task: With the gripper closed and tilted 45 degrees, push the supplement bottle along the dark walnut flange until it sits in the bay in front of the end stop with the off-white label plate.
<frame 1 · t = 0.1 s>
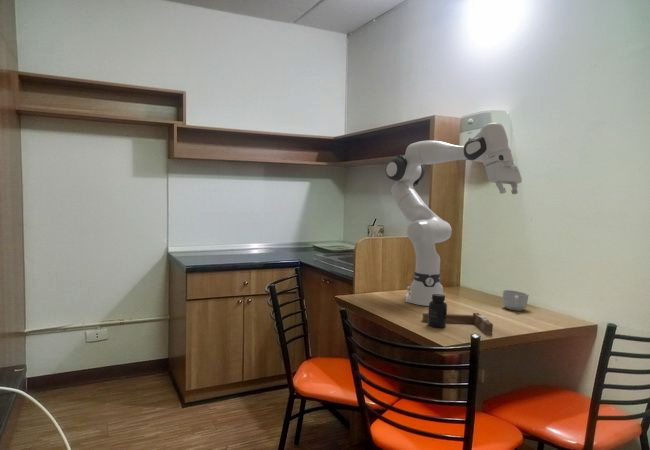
hand: (509, 193, 181), 52 cm above the table, tool tilted 20°, fingers open, 8 cm apart
rack: (454, 326, 175), on the table
supplement bottle: (436, 326, 175), on the table
teacup: (514, 310, 207), on the table
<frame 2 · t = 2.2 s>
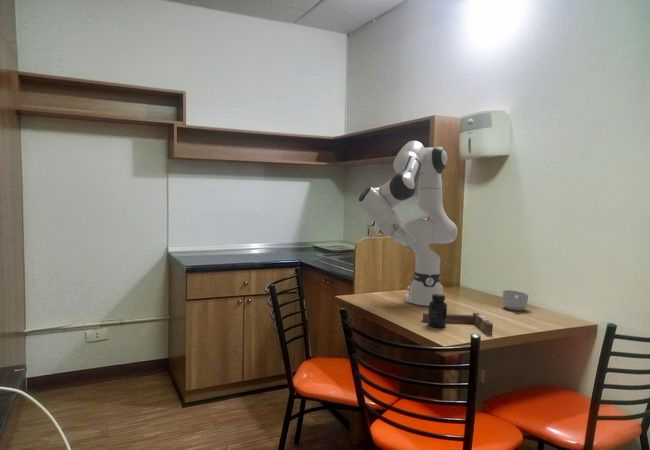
hand: (414, 251, 174), 28 cm above the table, tool tilted 45°, fingers open, 8 cm apart
nothing on the table moved.
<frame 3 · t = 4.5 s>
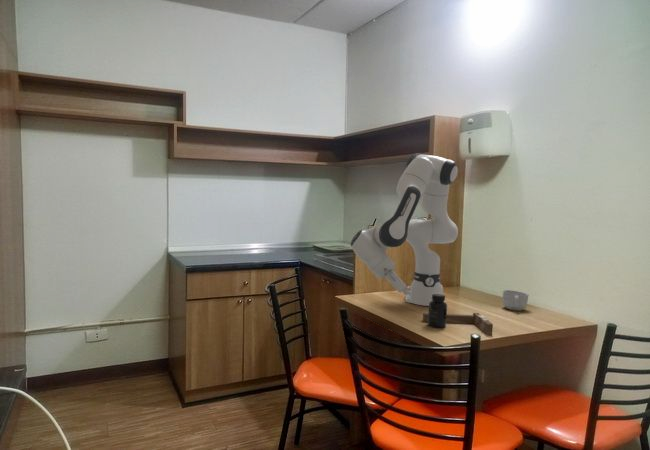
hand: (407, 293, 174), 12 cm above the table, tool tilted 45°, fingers closed
nothing on the table moved.
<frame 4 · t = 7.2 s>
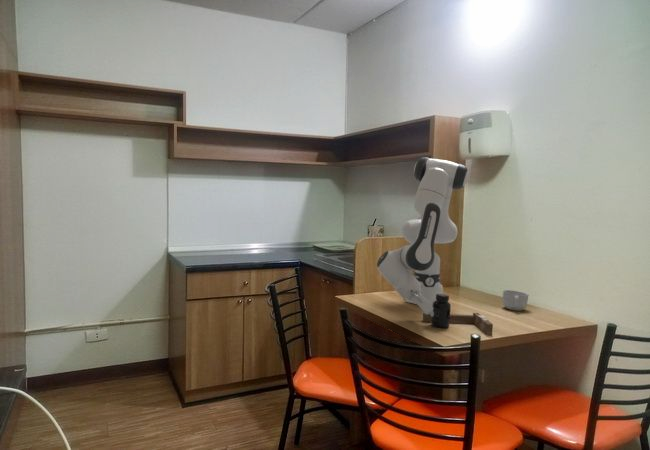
hand: (433, 314, 175), 4 cm above the table, tool tilted 45°, fingers closed, pressing on supplement bottle
supplement bottle: (439, 326, 175), on the table, touching gripper
everything else where it was.
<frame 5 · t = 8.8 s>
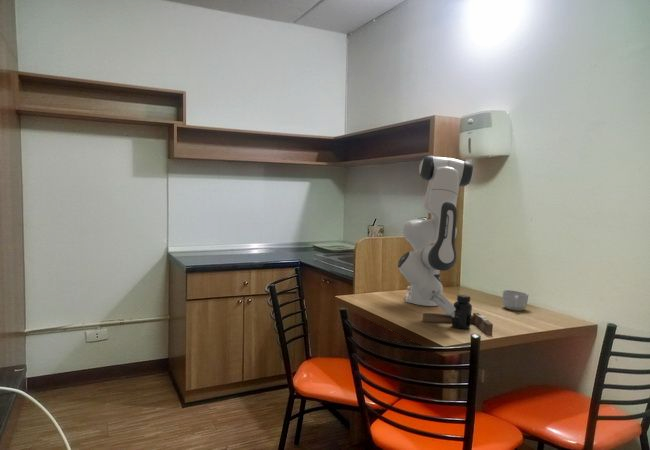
hand: (454, 315, 175), 4 cm above the table, tool tilted 45°, fingers closed, pressing on supplement bottle
supplement bottle: (460, 327, 175), on the table, touching gripper
everything else where it was.
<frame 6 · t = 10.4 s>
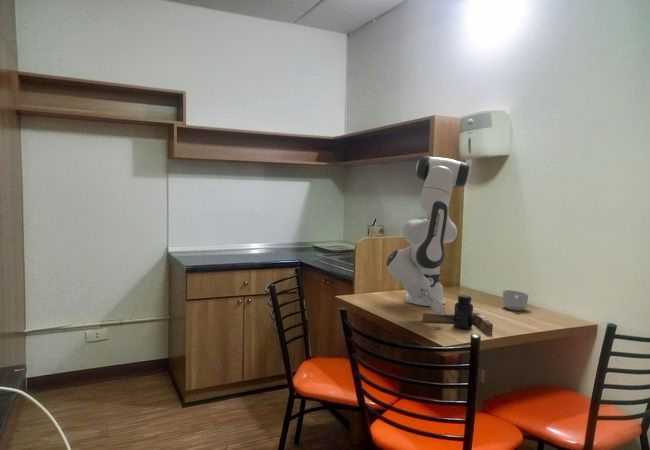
hand: (442, 313, 174), 5 cm above the table, tool tilted 45°, fingers closed
supplement bottle: (462, 327, 175), on the table
everything else where it was.
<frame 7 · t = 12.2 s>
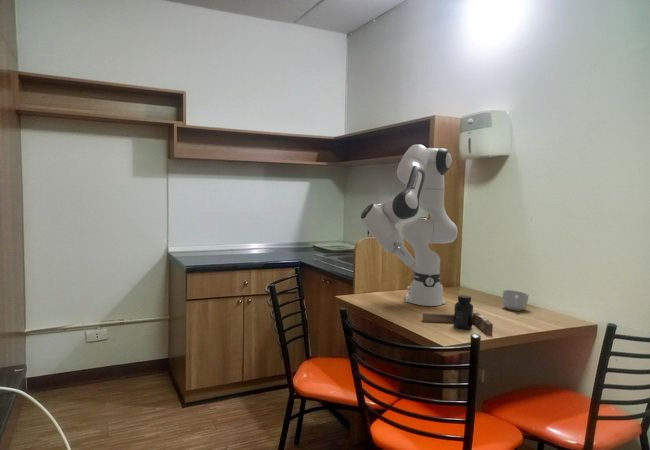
hand: (415, 269, 175), 21 cm above the table, tool tilted 40°, fingers closed
nothing on the table moved.
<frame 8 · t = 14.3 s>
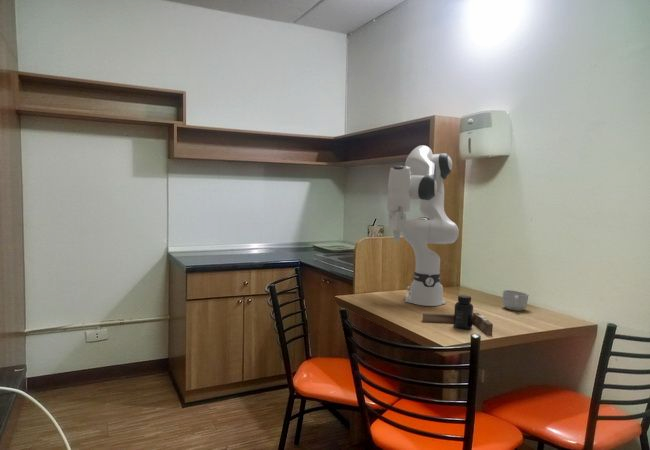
hand: (396, 241, 181), 31 cm above the table, tool pointing down, fingers closed
nothing on the table moved.
at the end: supplement bottle inside the target area (1.9 cm from its centre), on the table; supplement bottle tilted 0° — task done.
